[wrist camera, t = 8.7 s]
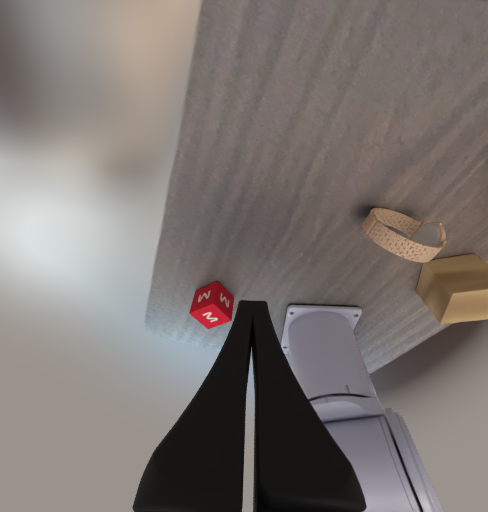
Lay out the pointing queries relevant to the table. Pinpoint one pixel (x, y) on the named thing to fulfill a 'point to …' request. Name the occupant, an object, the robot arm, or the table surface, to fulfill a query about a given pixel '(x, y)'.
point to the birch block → (455, 288)
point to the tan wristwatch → (423, 237)
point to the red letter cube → (212, 305)
